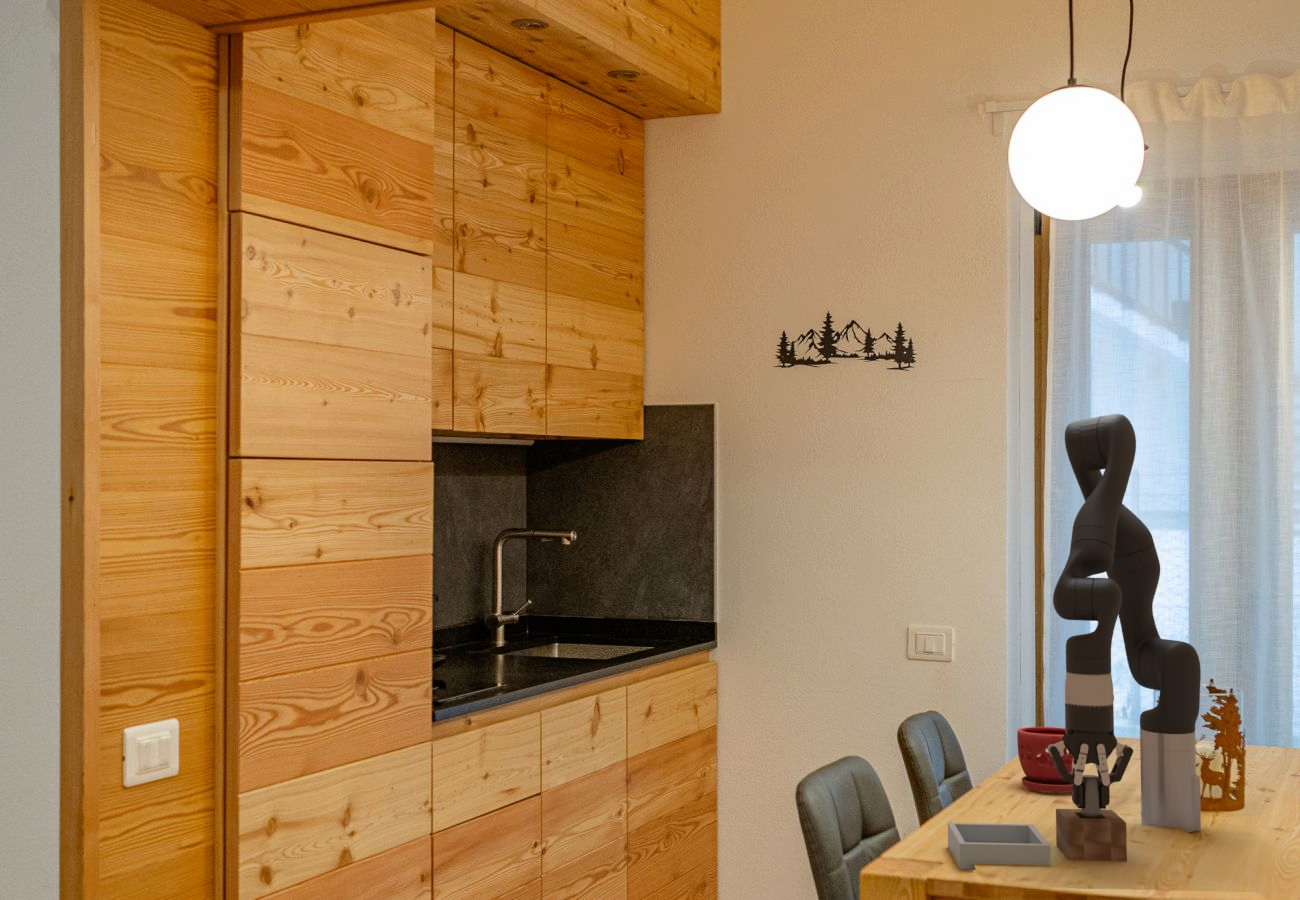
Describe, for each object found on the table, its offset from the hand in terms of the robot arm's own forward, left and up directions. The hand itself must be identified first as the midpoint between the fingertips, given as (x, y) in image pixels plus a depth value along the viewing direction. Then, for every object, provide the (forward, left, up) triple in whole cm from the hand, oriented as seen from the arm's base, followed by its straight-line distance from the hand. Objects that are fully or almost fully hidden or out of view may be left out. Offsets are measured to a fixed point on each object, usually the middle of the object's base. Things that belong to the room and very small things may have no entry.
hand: (1090, 807), depth 215 cm
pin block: (0, 0, -8) cm, 8 cm away
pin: (0, 0, -7) cm, 7 cm away
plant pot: (-5, -54, -9) cm, 55 cm away
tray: (+15, +1, -8) cm, 17 cm away
